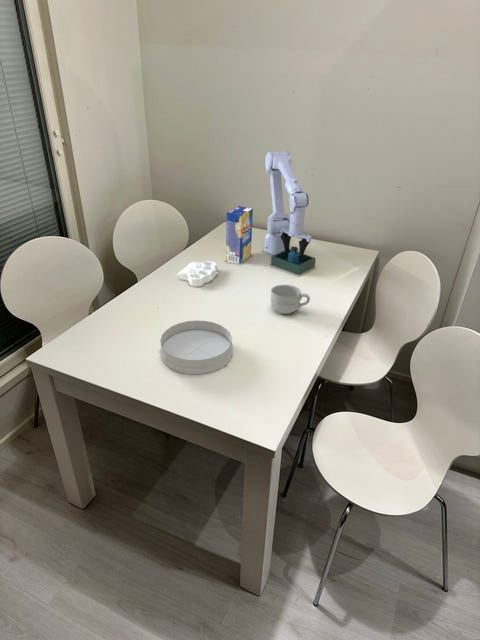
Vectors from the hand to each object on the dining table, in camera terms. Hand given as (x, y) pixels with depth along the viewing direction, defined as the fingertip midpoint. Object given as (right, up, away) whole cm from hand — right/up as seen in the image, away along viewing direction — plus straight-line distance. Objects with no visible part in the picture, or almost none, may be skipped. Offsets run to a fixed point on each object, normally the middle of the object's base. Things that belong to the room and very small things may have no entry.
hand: (294, 253), depth 194 cm
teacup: (-5, -25, -29) cm, 39 cm away
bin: (0, -6, +3) cm, 7 cm away
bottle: (0, -5, +3) cm, 6 cm away
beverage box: (-24, -1, +10) cm, 26 cm away
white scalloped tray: (-39, -11, -7) cm, 42 cm away
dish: (-36, -39, -53) cm, 75 cm away
